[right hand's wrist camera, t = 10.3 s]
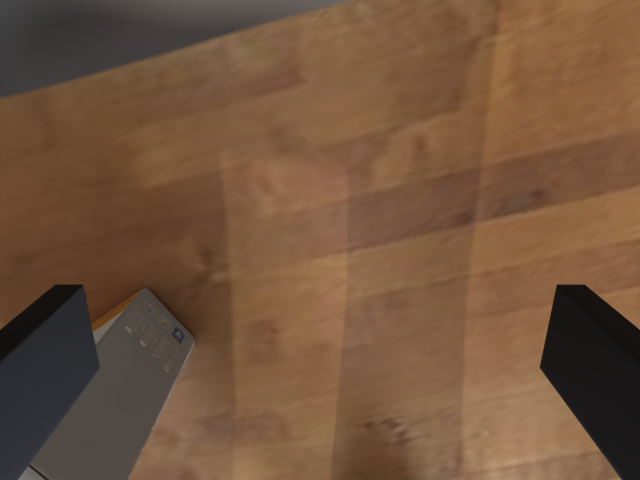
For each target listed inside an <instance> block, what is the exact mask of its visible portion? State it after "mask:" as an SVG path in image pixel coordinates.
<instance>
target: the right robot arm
mask: <svg viewBox="0 0 640 480" xmlns="http://www.w3.org/2000/svg"><path fill="white" fill-rule="evenodd" d="M99 369H100V364H99V359H98V355H97V350H96V345H95V340H94V335H93V330H92V325H91V321H90V316H89V311H88V306H87V301H86V296H85V292H84V287H83V285H54V286H53V287H52V288H51V289H50V290H48V291H47V292H46V293H45V294H43V295H42V296H41V297H40V298H39V299H37V300H36V301H35V302H34V303H32V304H31V305H30V306H29V307H28V308H26V309H25V310H24V311H23V312H21V313H20V314H19V315H18V316H17V317H15V318H14V319H13V320H12V321H10V322H9V323H8V324H7V325H6V326H4V327H3V328H2V329H1V330H0V480H18V479H19V478H20V477H21V475H22V474H23V472H24V471H25V470H26V468H27V467H28V466H29V464H30V463H31V462H32V460H33V459H34V457H35V456H36V455H37V453H38V452H39V451H40V449H41V448H42V447H43V445H44V444H45V442H46V441H47V440H48V438H49V437H50V436H51V434H52V433H53V431H54V430H55V429H56V427H57V426H58V425H59V423H60V422H61V421H62V419H63V418H64V416H65V415H66V414H67V412H68V411H69V410H70V408H71V407H72V406H73V404H74V403H75V401H76V400H77V399H78V397H79V396H80V395H81V393H82V392H83V391H84V389H85V388H86V386H87V385H88V384H89V382H90V381H91V380H92V378H93V377H94V376H95V374H96V373H97V371H98V370H99ZM540 369H541V370H542V371H543V373H544V374H545V376H546V377H547V378H548V380H549V381H550V382H551V384H552V385H553V386H554V388H555V389H556V391H557V392H558V393H559V395H560V396H561V397H562V399H563V400H564V401H565V403H566V404H567V406H568V407H569V408H570V410H571V411H572V412H573V414H574V415H575V416H576V418H577V419H578V421H579V422H580V423H581V425H582V426H583V427H584V429H585V430H586V431H587V433H588V434H589V436H590V437H591V438H592V440H593V441H594V442H595V444H596V445H597V447H598V448H599V449H600V451H601V452H602V453H603V455H604V456H605V457H606V459H607V460H608V462H609V463H610V464H611V466H612V467H613V468H614V470H615V471H616V472H617V474H618V475H619V477H620V478H621V479H622V480H640V330H639V329H638V328H637V327H636V326H634V325H633V324H632V323H631V322H630V321H628V320H627V319H626V318H625V317H623V316H622V315H621V314H620V313H619V312H617V311H616V310H615V309H614V308H612V307H611V306H610V305H609V304H608V303H606V302H605V301H604V300H603V299H601V298H600V297H599V296H598V295H597V294H595V293H594V292H593V291H592V290H590V289H589V288H588V287H587V286H586V285H557V287H556V292H555V296H554V301H553V306H552V311H551V316H550V321H549V325H548V330H547V335H546V340H545V345H544V350H543V355H542V359H541V364H540Z"/></svg>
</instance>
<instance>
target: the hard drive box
mask: <svg viewBox="0 0 640 480" xmlns="http://www.w3.org/2000/svg"><path fill="white" fill-rule="evenodd" d="M91 325H92V330H93V335H94V340H95V345H96V350H97V355H98V359H99V364H100V369H99V370H98V371H97V373H96V374H95V376H94V377H93V378H92V380H91V381H90V382H89V384H88V385H87V386H86V388H85V389H84V391H83V392H82V393H81V395H80V396H79V397H78V399H77V400H76V401H75V403H74V404H73V406H72V407H71V408H70V410H69V411H68V412H67V414H66V415H65V416H64V418H63V419H62V421H61V422H60V423H59V425H58V426H57V427H56V429H55V430H54V431H53V433H52V434H51V436H50V437H49V438H48V440H47V441H46V442H45V444H44V445H43V447H42V448H41V449H40V451H39V452H38V453H37V455H36V456H35V457H34V459H33V460H32V462H31V463H30V464H29V466H28V467H27V468H26V470H25V471H24V472H23V474H22V475H21V477H20V478H19V479H18V480H128V479H129V477H130V475H131V473H132V471H133V469H134V467H135V465H136V463H137V460H138V458H139V456H140V454H141V452H142V450H143V448H144V446H145V444H146V442H147V440H148V438H149V436H150V434H151V432H152V430H153V428H154V426H155V424H156V422H157V420H158V418H159V416H160V414H161V412H162V410H163V408H164V406H165V404H166V402H167V399H168V397H169V395H170V393H171V391H172V389H173V387H174V385H175V383H176V381H177V379H178V377H179V375H180V373H181V371H182V369H183V367H184V365H185V363H186V361H187V359H188V357H189V355H190V353H191V351H192V349H193V347H194V344H195V341H194V340H195V338H194V337H193V336H192V335H191V334H190V333H189V332H188V331H187V330H186V329H185V328H184V327H183V325H182V324H181V323H180V322H179V321H178V320H177V319H176V318H175V317H174V316H173V315H172V314H171V313H170V312H169V311H168V310H167V308H166V307H165V306H164V305H163V304H162V303H161V302H160V301H159V300H158V299H157V298H156V297H155V296H154V295H153V293H152V292H151V291H150V290H149V289H147V288H143V289H142V290H140V291H138V292H137V293H135V294H134V295H133V296H131V297H130V298H128V299H127V300H125V301H124V302H122V303H121V304H119V305H118V306H117V307H115V308H114V309H112V310H111V311H109V312H108V313H107V314H105V315H104V316H102V317H101V318H99V319H98V320H96V321H95V322H94V323H92V324H91Z"/></svg>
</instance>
